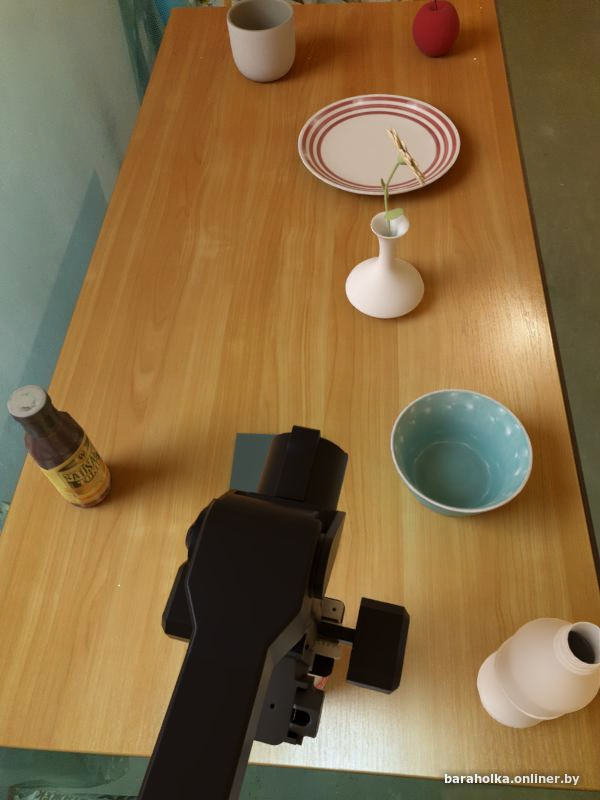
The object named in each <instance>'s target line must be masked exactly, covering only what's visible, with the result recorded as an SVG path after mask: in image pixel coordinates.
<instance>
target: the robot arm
mask: <svg viewBox="0 0 600 800" xmlns="http://www.w3.org/2000/svg"><path fill="white" fill-rule="evenodd" d="M278 434H279V435H277V436H275V437H274V438H273V439H272V442H271V445H270V448H269V452H268V455H267V458H266V462H265V465H264V468H263V472H262V475H261V478H260V482H259V485H258V488H257V492H256V493H255V492H247V491H242V490H237V489H232V488H231V489H230V490H229V489H228V490H227V491H225V492H224V493H223V494H221V495H220V496H218V497H217V498H215V497H214V498H213V499H212V500H211V501H210V502H209V503H208V504H207V506H205V507H204V508H203V509H202V510H201V511H200V512H199V514H198V516H197V517H196V519H195V520H194V521H193V523H192V524H191V525H190V526H189V528H188V529H187V532H186V534H185V541H184V544H185V548H186V549H187V554H186V555H187V557H186V560H185V561H183V562H182V563H181V564H180V566H178V568H177V571H176V574H175V578H174V581H173V583H172V586H171V589H170V592H169V595H168V598H167V600H166V603H165V606H164V609H163V612H162V615H161V624H160V625H161V628H162V630H163V633H164V634H165V635H166V636H167V637H168V638H169V639H172V640H174V641H175V640H176V641H179V642H182V643H186V644H188V646H187V648H186V652H185V655H184V658H183V661H182V664H181V667H180V670H179V673H178V676H177V678H176V682H175V684H174V687H173V691H172V692H171V696H170V699H169V701H168V705H167V709H166V711H165V714H164V716H163V720H162V723H161V725H160V729H159V732H158V734H157V738H156V740H155V744H154V746H153V749H152V753H151V755H150V757H149V761H148V764H147V767H146V770H145V773H144V776H143V779H142V781H141V784H140V787H139V791H138V794H137V797H136V798H135V799H136V800H239V799H240V795H241V792H242V787H243V783H244V779H245V775H246V771H247V768H248V764H249V760H250V755H251V753H252V749H253V744H254V742H258V743H262V744H266V745H268V746H269V745H270V746H279V745H282V744H283V743H285V744H289V745H293V746H301V747H302V746H303V741H304V738H305V737H307V738H312V739H315V738H317V735H318V734H319V733H318V732H319V729H320V723H321V718H322V713H323V709H324V708H323V707H324V703H325V697H326V691H325V690H324V689H317V688H316V687H315V686H314V681H315V676H311V675H308V673H309V674H313V675H316V676H320V677H327V676H328V677H329V676H331V674H332V673H333V670H334V667H335V661H336V660H341V658H342V657H343V651H344V649H343V646H344V645H345V646H349V647H351V650H350V655H349V661H348V664H347V665H348V666H347V669H346V677H345V683H347V684H350V685H353V686H355V687H357V688H361V689H367V690H370V691H374V692H377V693H382V694H386V695H391V694H393V693H394V692H395V691H398V689H399V688H400V685H401V681H402V675H403V670H404V663H405V655H406V649H407V642H408V635H409V630H410V624H411V623H410V622H411V615H410V614H409V612H408V610H407V609H406V607H405V606H403V605H399V604H396V603H390V602H387V601H383V600H382V601H381V600H377V599H374V598H369V597H364V596H361V598H360V599H361V600H360V603H359V609H358V612H357V613H358V614H357V619H356V623H355V628H352V627H347V626H344V624H343V623H344V617H345V612H346V606H345V604H344V602H343V601H342V600H340V599H337V598H333V597H328V596H326V594H327V589H328V587H329V583H330V579H331V577H332V573H333V569H334V566H335V562H336V559H337V556H338V552H339V548H340V544H341V540H342V536H343V535H342V534H343V531H344V526H345V521H346V517H347V512H346V511H342V510H338V505H339V501H340V497H341V493H342V489H343V483H344V479H345V475H346V470H347V466H348V462H349V454H348V453H347V452H345V450H344V449H343V448H342V447H340V446H339V445H338V444H336V443H335V442H333V441H332V440H329V439H327V438H325V437H322V433H321V429H317V428H312V427H307V426H302V425H296V424H293V425H292V427H291V430H290V431H288V432H282V433H278Z"/></svg>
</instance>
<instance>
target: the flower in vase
mask: <svg viewBox="0 0 600 800" xmlns="http://www.w3.org/2000/svg"><path fill="white" fill-rule="evenodd" d="M393 130H394V134H393V132H392V129H391V128H390V127H389V129H388V128H387V132H388V134H389V136H390V139H391V141H392V143H393V144H394V146H395V148H396V149H397V151H398V153H399V156H398V159H397V160H398V162H397V163H396V165H395V167H394V169H393V170H392V172H391V174H390V176H389V178H388V180H387V183H386V185H385V183H384V181H383V179H382V178H381V186H382V189H383V191H384V195H383V196H384V208H385V211H381V212H379V213H377V214H376V215H374V216H373V218H371V221H370V228H371V230H372V232H373V233H374V234H375V235H376V236H377V239H378V245H379V253H378V256H374V257H371V258H367V259H365V260H363V261H361V262H360V263H358V264H357V265H356V266H355V267H354V268H353V269H352V270H351V271H350V272H349V274H348V276H347V278H346V281H345V294H346V297H347V300H349V302H350V304H351V305H352V307H355V309H356V310H357V311H359V312H361V313H362V314H364V315H365V316H369V317H372V318H376V319H385V320H386V319H396V318H399V317H401V316H404V315H406V314H409V313H410V312H411V311H413V310H414V309H416V307H418V305H420V303H421V301H422V299H423V297H424V294H425V284H424V281H423V278H422V276H421V274H420V272H419V270H417V268H416V267H415V266H414V265H413V264H411V263H410V262H408V261H405V260H404V259H401V258H399V257H396V256H397V248H398V244H399V242H400V239H401V238H402V237H403V236H405V235H406V234H407V233H408V231H409V230H410V221H409V218H407V216H406V215H404V214H405V210H404V209H403V208H402V207H397V208H393V209H390V210H389V205H388V204H389V203H388V199H389V198H390V195H389V193H388V189H387V188H388V185H389V183H390V180H391V178H392V176H393V174H394V173H395V171H396V169H397V167H398V166H399V164H400V165H407V167H408V168H409V170H410V171H411V173H412V174H413V175H414V177H415V178H416V179H417V181H418V182H419V183H420V184H421V185H422V186H423V187H425V186H424V184H426V183H425V182H424V180H423V179H426V177H425V176H424V175H423V173H422V172H421V171H420V170H419V169H418V168H417V167H419V165H418V163H417V162H416V161H415V160H414V159H413V158H412V157H411V156H410V154H409V153H408V151H407V147H406V145H405V143H404V141H400V139H399V136H398V134H397V132H396V130H395V128H394V129H393ZM420 176H421V177H422V178H423V179H422V178H421V177H420ZM423 183H424V184H423Z"/></svg>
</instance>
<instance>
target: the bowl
mask: <svg viewBox="0 0 600 800" xmlns="http://www.w3.org/2000/svg"><path fill="white" fill-rule="evenodd" d="M389 442H390V443H389V444H390V456H391V459H392V463H393V465H394V467H395V469H396V471H397V474H398V475H399V477H400V478H401V480H402V481H403V483H404V485H405V487H406V488H407V489H408V490H409V492H410V493H411V494H412V495H413V497H414V498H415V499H416V500H417V501H418V502H419V503H420V504H421V505H423V507H425V508H426V509H428V510H430V512H433V513H436V514H437V515H441V516H444V517H450V518H465V517H471V516H475V515H480V514H481V515H482V514H484V513H487V512H490V511H493V510H496V509H498V508H500V507H503V506H505V505H506V504H508V503H510V502H511V501H512V500H513V499H514V498H516V497H517V496H518V495H519V494H520V492H522V490H523V489H524V488H525V486H526V485H527V483H528V482H529V481H528V480H529V479H530V476H531V473H532V468H533V464H534V463H533V462H534V461H533V460H534V453H533V446H532V442H531V439H530V436H529V434H528V431H527V430H526V427H525V426H524V424H523V423H522V421H521V420H520V419H519V418H518V417H517V415H516V414H515V413H514V412H512V410H510V408H508V407H507V406H505V405H504V404H503V403H501V402H500V401H499V400H496V399H495V398H493V397H490V396H488V395H486V394H484V393H480V392H478V391H474V390H469V389H462V388H445V389H439V390H434V391H431V392H428V393H426V394H425V393H424V394H423V395H421V396H419V397H417V398H416V399H414V400H412V401H411V402H410V403H408V404H407V405H406V406H405V407H404V408H403V409H402V411H401V412H400V413H399V414H398V416H397V417H396V420H395V421H394V423H393V426H392V428H391V433H390V440H389Z"/></svg>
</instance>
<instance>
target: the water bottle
mask: <svg viewBox="0 0 600 800" xmlns="http://www.w3.org/2000/svg"><path fill="white" fill-rule="evenodd" d="M476 687H477V692H478V695H479V699H480V703H481V705H482V707H483V708H484V710H485V711H486V713H488V715H489V716H490V717H491V718H493V719H494V720H495V721H496V722H497V723H499V724H501V725H503V726H506V727H510V728H515V729H527V728H531V727H534V726H536V725H539V724H540V723H542V722H543V721H551V720H554V719H557V718H561V717H562V716H564V715H565V714H570V713H571V714H572V713H574V712H577V711H579V710H582V709H583V708H584V707H586V706H588V705H589V704H590V703H591V702H592V701H593V700H594V698H595V697H596V696H597V695H598V692H599V690H600V627H599V626H597V625H596V624H594V623H592V622H589V621H578V622H574V623H571V622H569V621H568V620H564V619H562V618H557V617H540V618H536V619H533V620H530V621H528V622H526V623H524V624H523V625H522V626H521V627H519V628H518V629H517V630H516V631H515V633H514V634H513V635H511V636H510V637H508V638H506V640H505V641H504V642H503V643H502V644H501V645H500V646H499V648H498V649H497V650H496V651H494V652H492V653H491V654H489V655H488V657H486V659H485V660H484V661H483V663H482V664H481V666H480V668H479V670H478V674H477V678H476Z"/></svg>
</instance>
